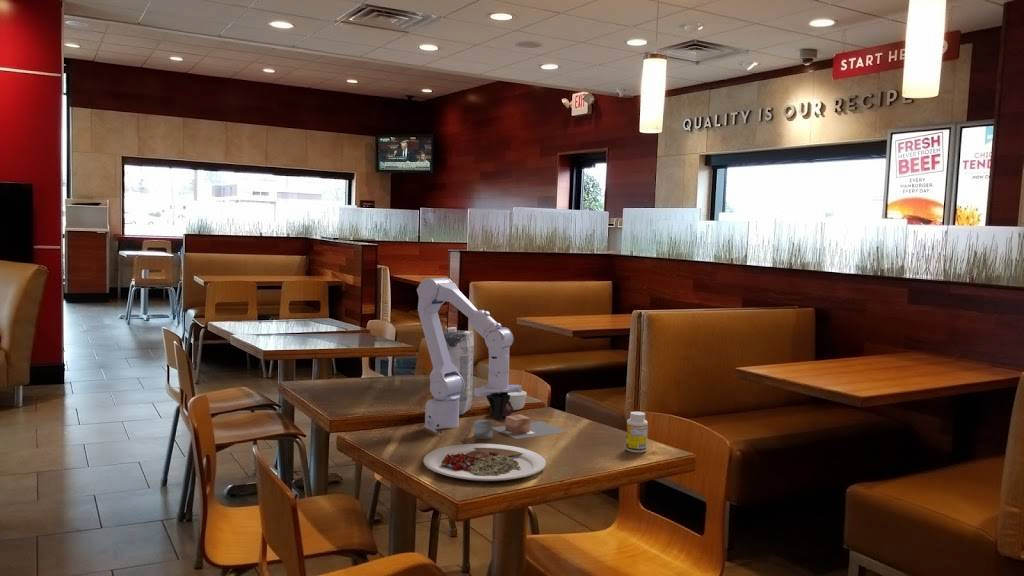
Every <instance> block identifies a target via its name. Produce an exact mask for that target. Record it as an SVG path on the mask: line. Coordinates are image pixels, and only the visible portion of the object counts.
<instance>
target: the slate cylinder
mask: <svg viewBox="0 0 1024 576" xmlns="http://www.w3.org/2000/svg"><path fill="white" fill-rule="evenodd" d="M493 425H494V423H493V421H490V420H476V421H474V428H473V429H474V430H473V431H474V432H473V437H474V438H475V439H480V440H489V439H492V438H493V430H494V429H493V427H494V426H493Z"/></svg>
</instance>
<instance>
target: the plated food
mask: <svg viewBox="0 0 1024 576" xmlns="http://www.w3.org/2000/svg"><path fill="white" fill-rule="evenodd" d="M479 448H481V449H483V448H484V449H485V448H486V449H498V450H499V449H500V450H507V451H513V452H517V453H519V454H511V455H505V454H503V455H501V454H500V453H499V452H498V451H497V450H490V451H489V454H488V453H485V452H483V451H481V450H479ZM422 462H423V464H424V466H425V467H426V468H427V469H429V470H430V471H432V472H434V473H437V474H440V475H443V476H447V477H451V478H456V479H461V480H466V481H476V482H499V481H509V480H516V479H521V478H526V477H528V476H533V475H536V474H538V473H539V472H541V471H543V470H544V469H545V468H546V466H547V462H546V459H545V458H544V456H542V455H541V454H539V453H538V452H535V451H533V450H530V449H526V448H524V447H519V446H512V445H508V444H507V445H506V444H499V443H498V444H496V443H465V444H464V443H462V444H454V445H448V446H444V447H439V448H437V449H433V450H432V451H430V452H428V453H427V454H426V455H424V457H423V461H422Z"/></svg>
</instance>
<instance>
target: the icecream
mask: <svg viewBox="0 0 1024 576" xmlns="http://www.w3.org/2000/svg"><path fill="white" fill-rule="evenodd" d="M513 411H514V410H513V407H512V405H511V403H510V401H508V402H507V404H506V406H505V409H504V412H503V415H502V418H504V417H506V416H511V414H512V413H513ZM489 414H490V415H491V417H493V413H492V409H491V406H490V405H489Z"/></svg>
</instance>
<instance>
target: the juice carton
mask: <svg viewBox="0 0 1024 576" xmlns="http://www.w3.org/2000/svg"><path fill="white" fill-rule="evenodd" d="M443 334H444V337H445V341H446V345H447V348H448V352H449V356H450V359H451V363H452V364H453V365H454V366H456V367H457V368H458V371H459V374H460V375H461V376H462V378H463V380H464V383H465V386H464V390H463V391H462V392H461V393H460V398H459V416H462V415H465V413H466V412H468V411H470V410H471V406H472V402H473V401H472V400H473V386H474V385H473V381H474V380H473V377H474V351H475V350H474V346H475V343H474V331H472V330H463V329H462V330H460V329H457V327H456V326H451V327H447V331H446V332H443ZM444 376H445V375H444ZM469 409H470V410H469Z"/></svg>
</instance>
